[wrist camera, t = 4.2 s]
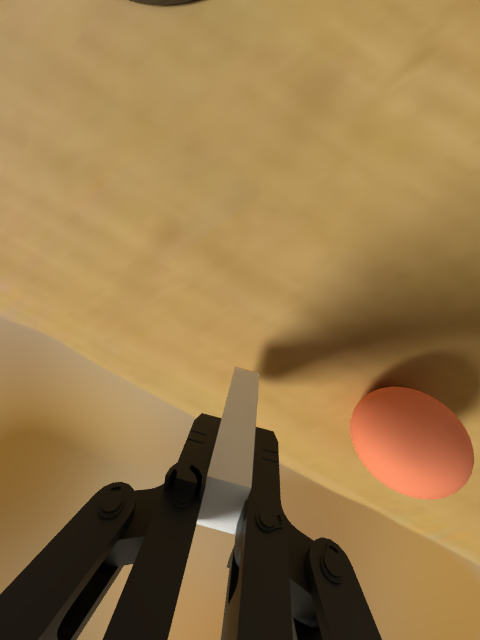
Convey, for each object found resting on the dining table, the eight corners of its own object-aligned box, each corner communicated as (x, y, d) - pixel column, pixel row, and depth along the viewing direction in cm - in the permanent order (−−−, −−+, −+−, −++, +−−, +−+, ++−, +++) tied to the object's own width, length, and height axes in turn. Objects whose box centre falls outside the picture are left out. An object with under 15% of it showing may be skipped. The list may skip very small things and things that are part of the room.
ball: (358, 359, 15) (406, 428, 9) (445, 381, 14) (542, 463, 9) (327, 422, 17) (353, 507, 11) (403, 442, 16) (463, 537, 11)
